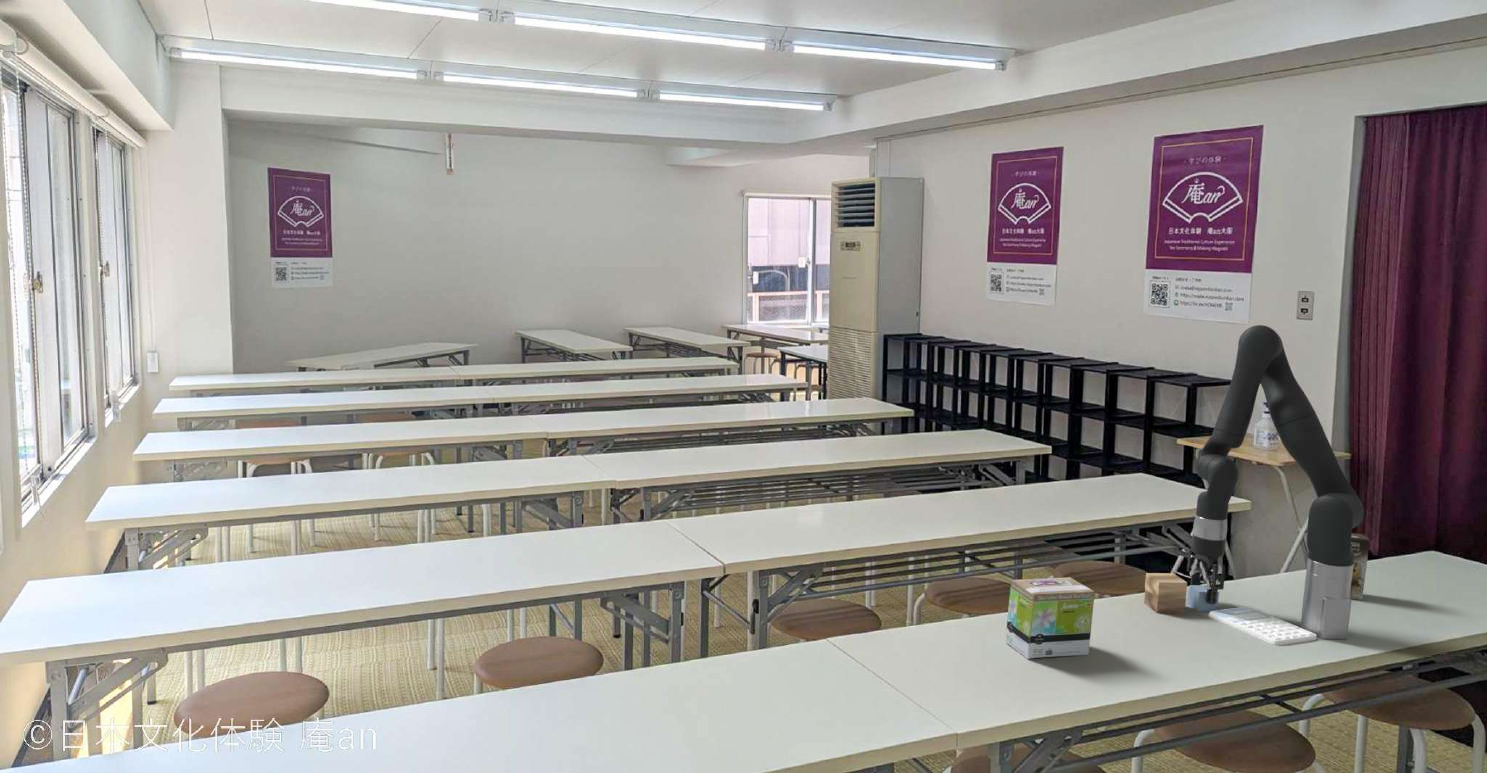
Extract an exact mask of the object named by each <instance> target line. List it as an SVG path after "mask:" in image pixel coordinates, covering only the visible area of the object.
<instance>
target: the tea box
mask: <svg viewBox="0 0 1487 773" xmlns="http://www.w3.org/2000/svg"><path fill="white" fill-rule="evenodd" d="M1095 593H1096V592H1095V590H1092V589H1091V588H1089V587H1088V586H1086V585H1084V584H1082V583H1081V582H1079V581H1077V580H1075V579H1074V578H1072V577H1070V576H1067V577H1047V578H1027V579H1026V578H1025V579H1022V578H1021V579H1011V581H1010V591H1009V598H1008V610H1007V620H1006V629H1005V631H1006V632H1005V639H1004V642H1005V643H1006V644H1007V645H1008V646H1010V647H1011V648H1013V650H1014V651H1016V652H1018V653H1019V654H1020V655H1021V656H1023V657H1025V658H1026V659H1027V660H1029V659H1036V658H1037V659H1039V658H1051V657H1052V658H1053V657H1071V656H1073V657H1074V656H1075V657H1076V656H1087V655H1089V652H1090V643H1091V634H1092V623H1093V613H1094V603H1095Z"/></svg>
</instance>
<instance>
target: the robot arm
mask: <svg viewBox="0 0 1487 773" xmlns="http://www.w3.org/2000/svg"><path fill="white" fill-rule="evenodd" d="M1237 343H1238V344H1237V346H1238V347H1237V352H1236V359H1235V364H1234V369H1233V373H1232V377H1231V380H1230V381H1231V382H1230V384H1229V387H1228V390H1227V392H1226V396H1225V398H1224V399H1223V403H1222V406H1221V408H1220V411H1219V414H1218V416H1217V418H1216V419H1217V420H1216V422H1215V425H1214V428H1213V431H1212V434H1211V435H1210V437H1209V438H1208V439H1207V441H1206V443H1205V444H1204V446H1203V447H1202V448H1201V450H1200V452H1199V454H1198V455H1197V458H1196V459H1195V460H1196V461H1195V472H1196V473H1197V476H1198V477H1200V478H1201V479H1203V480H1205V481H1206V482H1209V483H1208V487H1207V490H1205V491H1201V492H1200V493H1199V494H1198V497H1197V500H1196V512H1195V518H1194V521H1193V526H1192V527H1193V528H1192V537H1191V546H1190V549H1189V550H1188V557H1187V564H1186V571H1187V572H1188V573H1189V576H1190V585H1202V584H1201V583H1202V578H1203V580H1204V581H1205V582H1206V585H1207V587H1208V589H1207V596H1206V603H1208V604H1216V599H1217V591H1218V592H1219V590H1224V586H1225V575H1226V574H1225V573H1226V566H1225V564H1219V558H1220V557H1223V556H1224V555H1225V553H1226V552H1225V551H1226V542H1227V535H1228V534H1227V533H1228V514H1229V504H1230V503H1229V502H1230V500H1231V498H1232V496H1233V493H1234V491H1235V489H1236V485H1237V483H1238V479H1239V469H1238V465H1237V463H1236V462H1235V461H1234V460H1233V459H1232V458H1230V457H1228V455H1229V453H1230V452H1231V450H1233V449H1239V448H1240V447H1242V444H1243V443H1244V440H1245V437H1246V434H1247V433H1248V432H1247V431H1248V429H1249V426H1250V423H1251V419H1252V416H1253V412H1254V408H1255V403H1256V399H1257V395H1258V391H1259V388H1260V385H1261V387H1262V388H1261V389H1263V393H1264V396H1265V401H1266V404H1267V408H1268V412H1269V414H1270V418H1271V421H1272V423H1273V426H1274V428H1275V430H1276V433H1277V434H1278V436H1279V440H1280V441H1281V443H1282V445H1283V447H1284V449H1285V450H1286V451H1287V452H1288V454H1289V455H1290V456H1291V458H1293V460H1294V461H1295V463H1297V464H1298V465H1299V467H1300V468H1301V469H1302V470H1303V471H1304V473H1305V474H1306V475H1307V476H1308V479H1309V480H1310V482H1311V484H1312V487H1313V489H1314V492H1315V495H1316V497H1317V498H1315V499H1314V500H1313V502H1312V503H1311V505H1310V507H1309V511H1308V517H1307V518H1308V519H1307V528H1306V529H1307V532H1306V547H1307V551H1308V555H1307V561H1306V572H1305V580H1304V587H1303V588H1304V590H1303V598H1302V608H1301V615H1300V616H1301V618H1300V626H1299V627H1300V628H1302V629H1305V630H1307V631H1310V632H1312V633H1314V634H1316V636H1317V637H1318V638H1320V639H1323V640H1324V639H1327V640H1329V639H1331V640H1333V639H1334V640H1335V639H1337V640H1339V639H1341V640H1344V639H1345V640H1346V639H1348V633H1349V627H1350V626H1349V624H1350V618H1351V616H1350V615H1351V610H1352V609H1351V607H1352V599H1350V598H1349V597H1350V589H1351V580H1352V572H1353V564H1354V552H1353V551H1352V550H1351V535H1352V533H1353V529H1355V528H1356V527H1358V526H1359V525H1360V524H1361V522H1362V520H1364V519H1363V518H1364V507H1363V504H1362V502H1361V500H1360V498H1359V496H1358V495H1357V493H1356V491H1355V490H1354V488H1353V486H1352V485H1351V484H1350V482H1349V479H1348V478H1347V477H1346V475H1345V473H1344V472H1343V470H1342V468H1341V466H1340V464H1339V462H1338V459H1337V457H1336V454H1335V451H1333V448H1332V446H1331V444H1330V442H1329V439H1328V437H1327V435H1326V432H1325V431H1324V428H1323V425H1322V423H1321V421H1320V419H1319V417H1318V415H1317V413H1316V410H1315V409H1314V407H1313V406H1312V404H1311V401H1310V400H1309V398H1308V397H1307V395H1306V393H1305V392H1304V390H1303V389H1302V387H1301V385H1300V384H1299V382H1298V380H1297V379H1296V378H1295V376H1294V374H1293V371H1292V368H1291V366H1290V364H1289V360H1288V357H1287V354H1286V351H1285V348H1284V343H1283V340H1282V339H1281V336H1280V335H1279V334H1278V333H1277V331H1276V330H1274V329H1273V328H1272V327H1270V326H1267V325H1262V324H1260V325H1259V324H1258V325H1253V326H1250V327H1249V328H1247V329H1246V330H1244V331H1243V332H1242V334H1240V336H1239V339H1238V342H1237ZM1202 576H1203V577H1202Z"/></svg>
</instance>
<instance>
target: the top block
mask: <svg viewBox="0 0 1487 773" xmlns="http://www.w3.org/2000/svg"><path fill="white" fill-rule="evenodd" d="M1187 586H1188V582H1187V581H1185V580H1184V579H1183V578H1181V577H1179V576H1178V575H1176V574H1175V573H1171V572H1170V573H1166V572H1164V573H1163V572H1162V573H1161V572H1151V573H1150V572H1149V573H1148V572H1146V574H1145V582H1144V590H1145V589H1146V590H1147V591H1149V592H1150V593H1151V594H1153V595H1154V596H1155V597H1157V598H1186V597H1187V588H1188V587H1187ZM1186 599H1187V598H1186Z"/></svg>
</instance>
